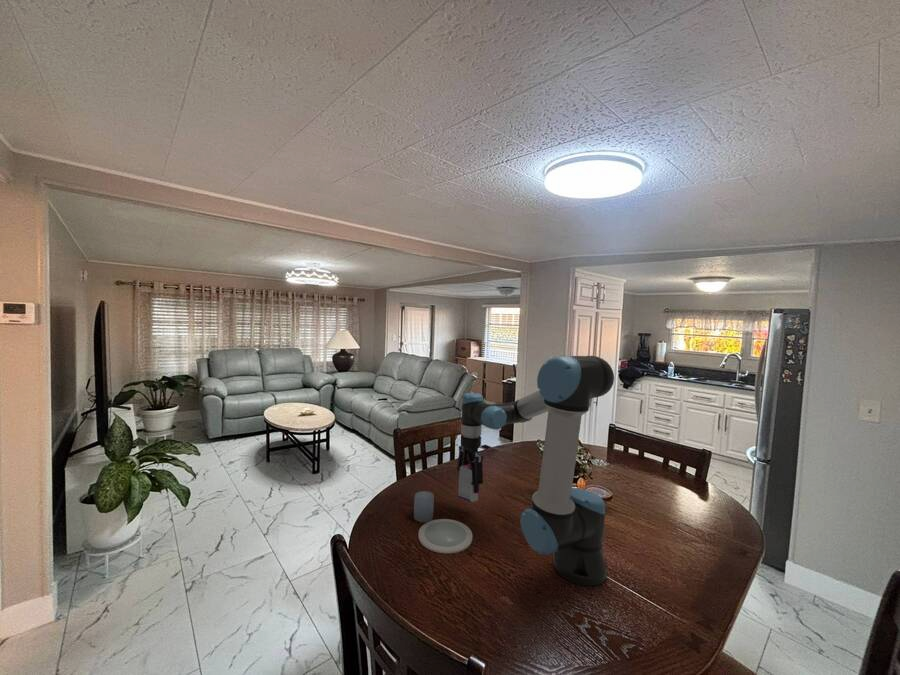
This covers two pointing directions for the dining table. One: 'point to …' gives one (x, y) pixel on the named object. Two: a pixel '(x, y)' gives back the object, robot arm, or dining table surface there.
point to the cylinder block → (423, 506)
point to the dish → (445, 536)
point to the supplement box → (465, 482)
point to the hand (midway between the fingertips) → (468, 495)
